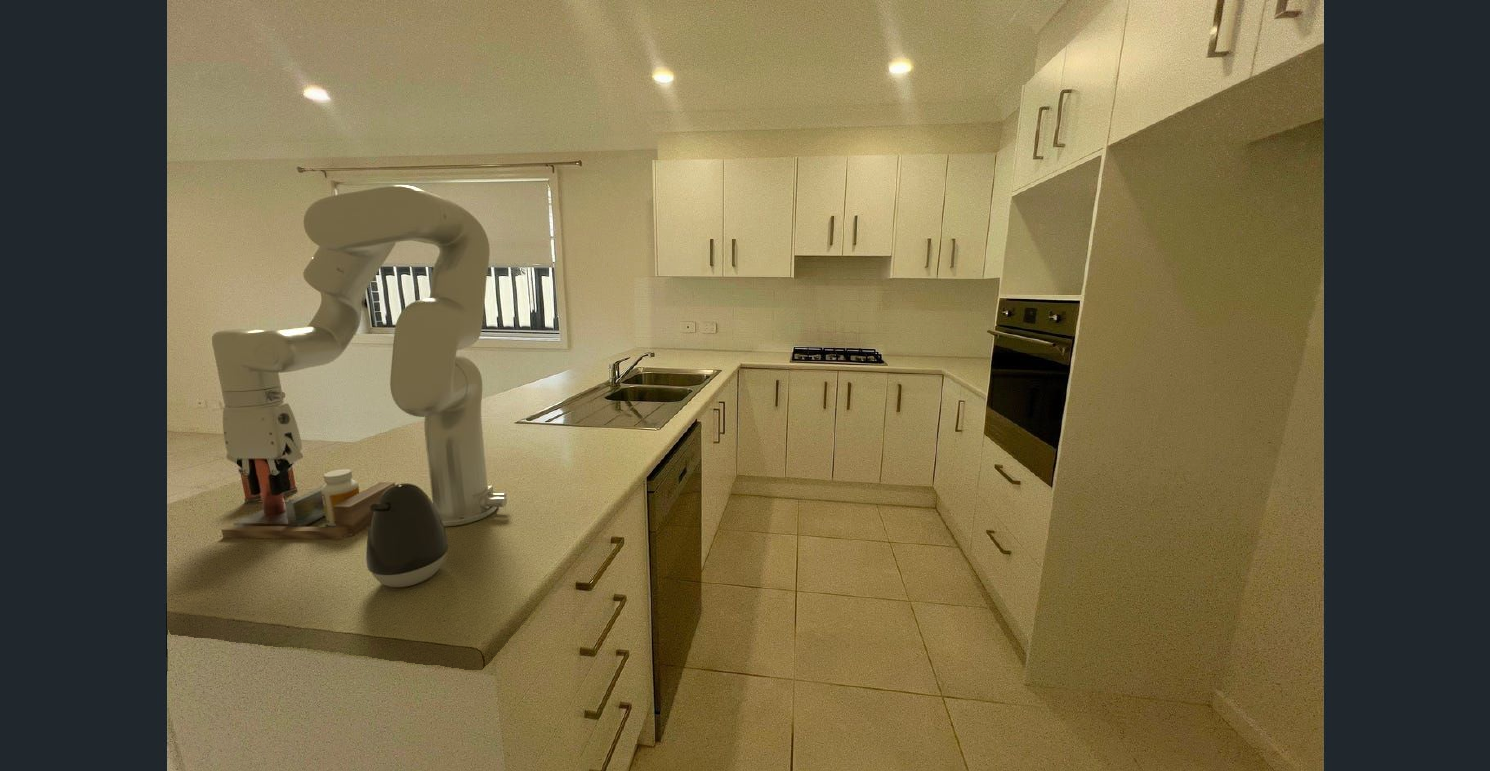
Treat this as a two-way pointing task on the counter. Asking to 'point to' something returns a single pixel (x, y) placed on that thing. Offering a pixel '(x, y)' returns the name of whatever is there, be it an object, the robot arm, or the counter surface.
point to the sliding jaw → (283, 504)
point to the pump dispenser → (405, 537)
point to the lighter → (256, 498)
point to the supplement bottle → (337, 491)
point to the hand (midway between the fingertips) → (271, 491)
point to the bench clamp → (348, 522)
